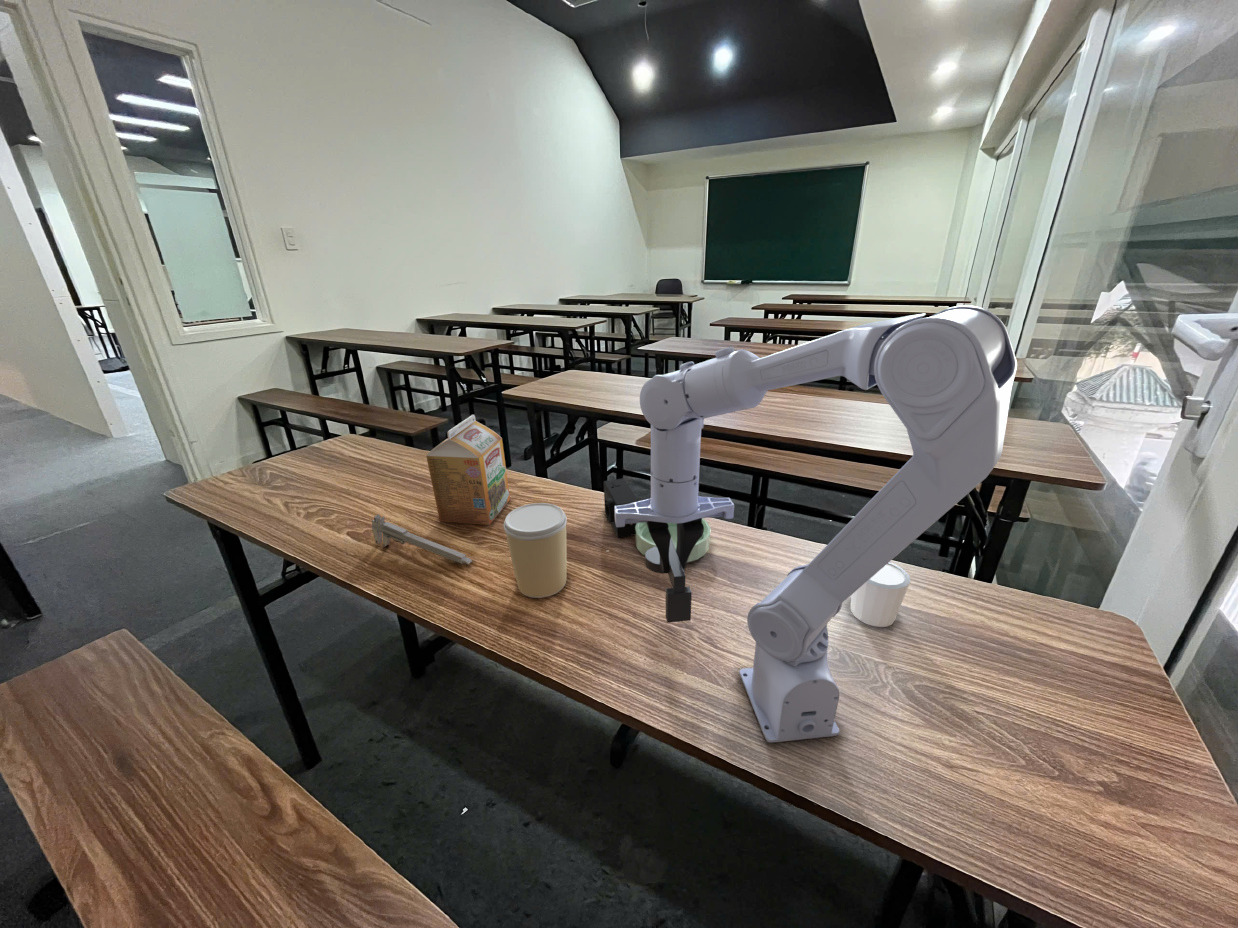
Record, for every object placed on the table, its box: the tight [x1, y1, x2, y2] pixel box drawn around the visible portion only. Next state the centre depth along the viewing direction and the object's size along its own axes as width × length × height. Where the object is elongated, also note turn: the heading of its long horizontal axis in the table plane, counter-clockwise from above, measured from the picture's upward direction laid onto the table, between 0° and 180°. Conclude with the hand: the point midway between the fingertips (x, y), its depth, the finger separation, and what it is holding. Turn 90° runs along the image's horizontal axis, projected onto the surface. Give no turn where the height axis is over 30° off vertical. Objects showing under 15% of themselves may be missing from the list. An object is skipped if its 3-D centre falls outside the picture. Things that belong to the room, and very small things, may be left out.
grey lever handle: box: [644, 539, 693, 623], centre depth 65 cm, size 15×5×7 cm, turn 6°
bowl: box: [634, 518, 712, 563], centre depth 84 cm, size 13×13×4 cm
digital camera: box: [603, 478, 640, 539], centre depth 91 cm, size 10×5×7 cm, turn 15°
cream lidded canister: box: [503, 502, 568, 599], centre depth 74 cm, size 9×9×12 cm
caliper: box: [371, 513, 473, 565], centre depth 83 cm, size 20×1×6 cm, turn 70°
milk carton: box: [425, 414, 511, 526], centre depth 95 cm, size 11×11×19 cm
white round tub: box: [850, 561, 911, 628], centre depth 66 cm, size 7×7×7 cm
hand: (672, 567), depth 62 cm, fingers closed on grey lever handle
